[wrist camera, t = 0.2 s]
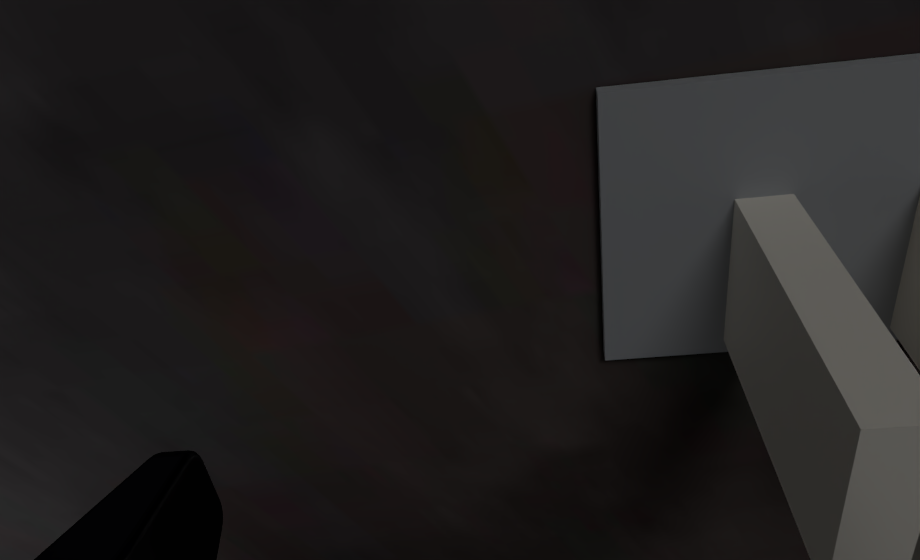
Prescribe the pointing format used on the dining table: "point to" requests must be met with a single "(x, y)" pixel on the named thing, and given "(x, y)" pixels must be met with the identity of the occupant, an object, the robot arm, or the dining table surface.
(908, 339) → the domino
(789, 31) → the dining table surface
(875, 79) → the mat
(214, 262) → the dining table surface
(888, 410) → the domino
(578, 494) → the dining table surface
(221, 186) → the dining table surface
